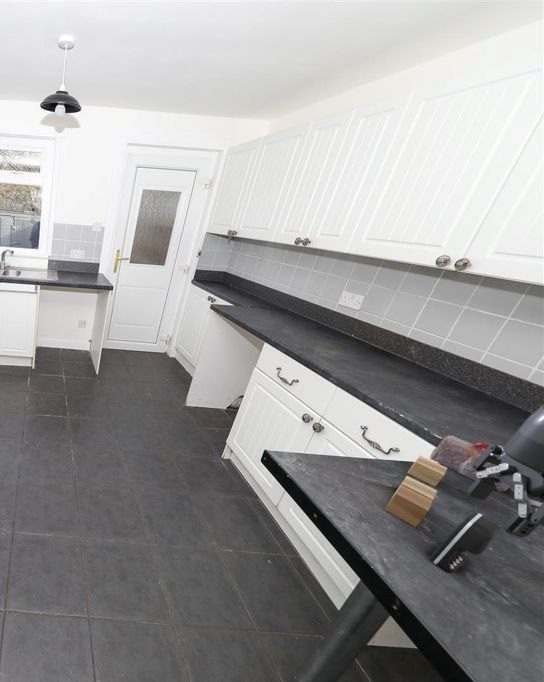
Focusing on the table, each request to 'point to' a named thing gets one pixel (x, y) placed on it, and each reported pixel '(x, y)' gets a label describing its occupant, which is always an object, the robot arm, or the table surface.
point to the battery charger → (465, 541)
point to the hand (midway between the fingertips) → (492, 513)
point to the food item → (461, 457)
